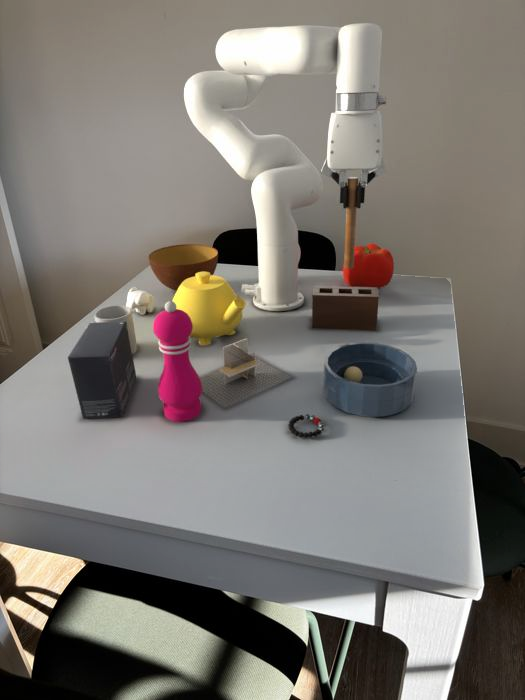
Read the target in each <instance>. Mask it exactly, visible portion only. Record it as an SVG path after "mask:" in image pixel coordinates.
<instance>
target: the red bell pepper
mask: <svg viewBox="0 0 525 700" xmlns="http://www.w3.org/2000/svg"><path fill="white" fill-rule="evenodd" d="M394 270H395V263H394V257H393V256H392V253H391V251H390V250H388V249H386V248H381V247H380V246H379V245H377V244H376V243H368V244H367V245H364V246H363V245H355V250H354V267H353V268H352V269H346V268H344V264H343V266H342V277H343V281H344V282H345V283H346V285H348V286H347V287H377V288H378V290H379V289H382V288H384V287H386V286H388V285H389V284H390V283H391V281H392V279H393V276H394Z"/></svg>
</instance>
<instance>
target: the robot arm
mask: <svg viewBox="0 0 525 700" xmlns="http://www.w3.org/2000/svg"><path fill="white" fill-rule="evenodd" d="M382 43H383V31H382V28H381V26H380V25H378V24H376V23H372V22H371V23H370V22H368V23H367V22H361V23H360V22H359V23H351V24H345V25H344V26H342V27H340V26H327V25H325V26H324V25H290V26H267V27H253V28H251V27H250V28H238V29H236V28H235V29H232V30H229V31H227V32H225V33H223V34H222V35H221V36H220V38H219V39H218V41H217V43H216V45H215V58H216V61H217V63H218V65H219V66H220V67H221V68H222V69H223V70H207V71H206V70H205V71H200V72H197V73H195V74H193V75H192V76H190V77H189V78H188V79H187V81H186V82H185V85H184V89H183V99H184V100H183V101H184V105H185V108H186V112H187V115H188V117H189V119H190V121H191V123H192V124H193V126H194V127H195V128H196V129H197V131H198V132H199V133H200V134H201V135H202V136H203V137H204V138H205V139H206V140H207V141H208V142H210V144H212V145H213V147H214V148H215V149H216V150H217V152H219V154H220V155H221V156H222V158H223V159H224V160H225V161H226V162H227V163H228V165H229V166H230V167H231V168H232V169H233V170H234V172H235V173H236V174H237V175H238V176H239V177H240V178H242V180H245V181H252V183H251V192H250V193H251V199H252V204H253V208H254V213H255V220H256V221H255V222H256V234H257V235H256V236H257V238H256V239H257V240H256V241H257V265H258V266H257V267H258V281H257V283H254V284H241V293H244V296H253V297H252V303H253V305H254V306H255V307H257V308H259V309H261V310H263V311H269V312H287V311H292V310H296V309H298V308H300V307H301V306H302V305H304V302H305V297H304V295H303V294H302V293H301V292H299V291H298V289H299V286H298V285H299V263H298V244H299V231H298V226H297V223H296V221H295V219H294V217H293V214H292V211H294V210H296V209H302V208H305V207H309V206H311V205H313V204H316V202H318V201H319V200H320V198H321V197H322V195H323V191H324V183H323V178H322V175H324V176H326V177H328V178H331V179H333V181H334V182H336V184H337V185H338V186H339V204H342V208H343V209H346V208H347V198H348V187H347V184H348V181H346V180H347V171H360V174H359V181H358V189H357V209H361V208H362V206H361V204H365V196H366V187H367V185H369V184H370V182H371V181H373V180H374V178H377V177H379V176H382V175H385V173H387V168H386V166H385V162H384V159H383V117H382V112H381V111H378V108H379V107H380V106H382V105H386V104H387V96H386V95H385V96H383V95H381V94H380V92H379V91H380V90H379V89H380V75H381V59H382V45H383V44H382ZM334 74H336V85H335V111H334V112H331V114H330V117H329V125H328V133H327V147H326V148H327V149H326V158H325V160H324V163H323V164H322V165H323V166H322V168H321V173H320V172H319V170H318V169H317V168H316V166H315V165H314V164H313V162H312V161H311V160H309V158H308V157H307V156H306V155H305V154H304V153H303V152H302V150H301V149H299V147H298V146H297V145H296V144H295V143H294V142H293V141H292V140H291V139H289V138H288V137H286V136H285V135H282V134H277V133H276V134H275V133H274V134H265V135H264V134H263V135H258V134H254V133H253V132H252V131H251V130H250V129H249V128H248V126H246V125H245V124H244V122H243V121H242V120H241V119H240V118H238V117H237V116H235V115H233V114H232V113H229V112H228V111H236V110H238V111H239V110H244V109H247V108H249V107H250V106H251V105H252V104H254V102H255V101H256V100H257V98H258V96H259V95H260V94H261V92H262V91H263V89H264V88H265V87H266V85H267V83H268V82H269V80H270V79H271V77H272V76H277V75H334ZM338 171H339V173H338ZM321 174H322V175H321Z"/></svg>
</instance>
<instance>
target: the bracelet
mask: <svg viewBox="0 0 525 700" xmlns="http://www.w3.org/2000/svg"><path fill="white" fill-rule="evenodd" d="M304 419H306V420H309V419H310V421H313V423H314V424H315V425H318V428H317V429H316V430H313V431H309V432H302V431H299V430H297V429H296V427H295V424H296V423H297V422H299V421H304ZM287 427H288V430H289V431H290V433H291V434H292V435H294V436H295V437H298V438H300V439H301V438H304V439H308V438H313V437H315V438H316V437H317V436H320V435H321V434H322V432H324V431H325V423H324V422H323V421H322V419H321V418H320V417H317V416H315V414H311V415H310V413H309V414H308V413H306V414H300V415H296V416H295V417H292V418H291V419H290V420H289V421H288V426H287Z"/></svg>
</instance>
